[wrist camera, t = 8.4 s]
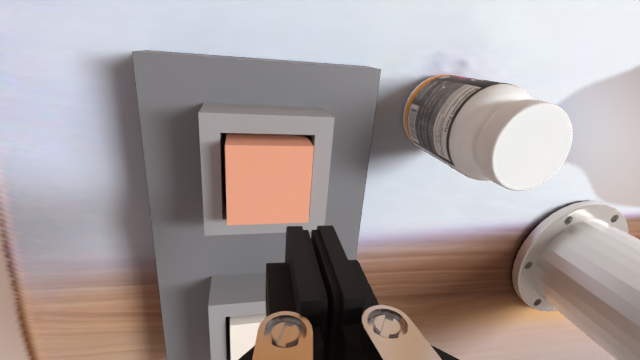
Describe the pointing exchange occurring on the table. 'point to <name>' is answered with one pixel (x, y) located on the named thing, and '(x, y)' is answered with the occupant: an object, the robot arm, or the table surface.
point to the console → (210, 177)
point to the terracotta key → (268, 178)
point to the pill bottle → (488, 130)
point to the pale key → (243, 333)
